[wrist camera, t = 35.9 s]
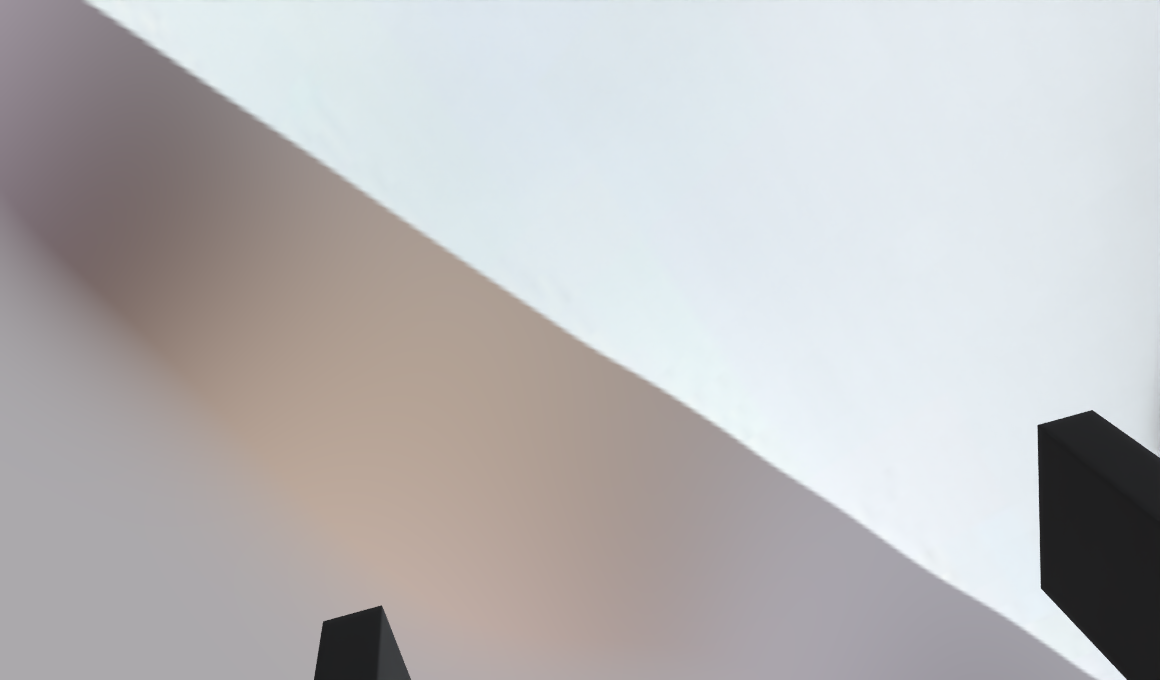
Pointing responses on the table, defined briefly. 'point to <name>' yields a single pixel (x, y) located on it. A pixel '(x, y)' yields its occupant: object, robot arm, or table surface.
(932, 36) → the table surface
